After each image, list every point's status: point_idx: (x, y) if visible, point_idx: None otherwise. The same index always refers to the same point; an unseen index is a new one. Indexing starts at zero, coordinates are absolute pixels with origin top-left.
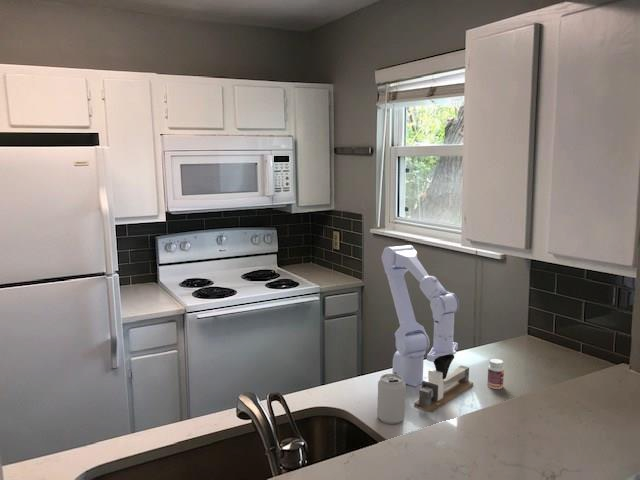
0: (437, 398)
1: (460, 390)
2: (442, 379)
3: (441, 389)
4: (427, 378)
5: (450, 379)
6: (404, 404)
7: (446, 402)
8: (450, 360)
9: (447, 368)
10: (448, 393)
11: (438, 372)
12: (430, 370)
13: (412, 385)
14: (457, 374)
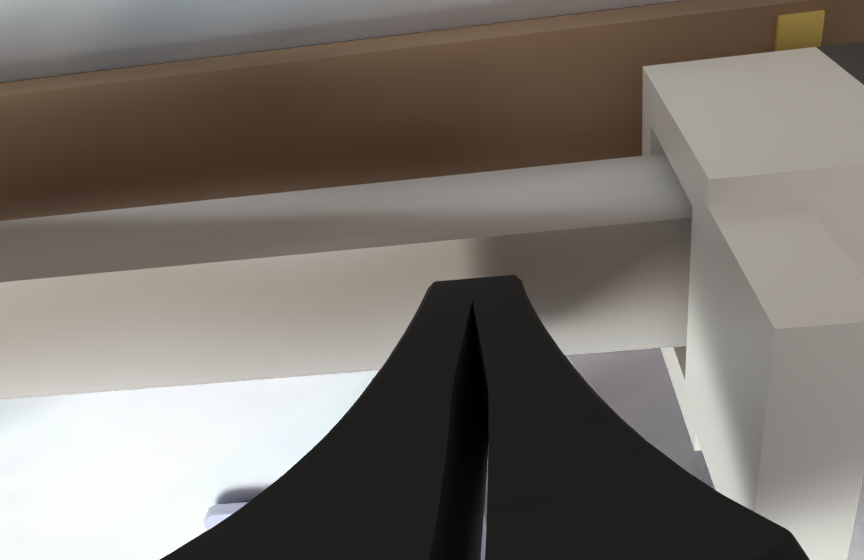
0: (846, 60)
1: (136, 79)
2: None
3: (747, 119)
4: (220, 516)
5: (273, 246)
6: None
7: (570, 15)
8: (411, 536)
9: (443, 391)
10: (370, 135)
11: (836, 396)
12: (829, 549)
13: (484, 517)
14: (15, 277)
